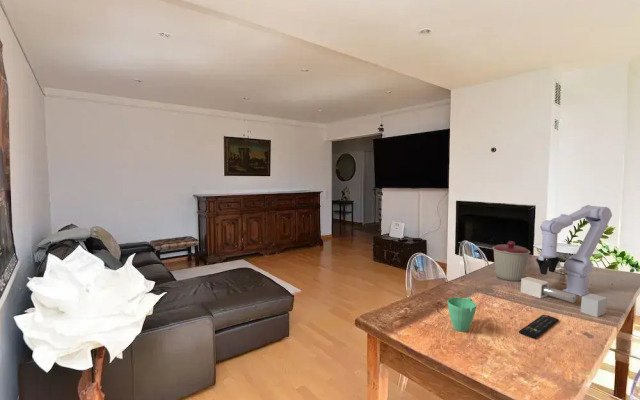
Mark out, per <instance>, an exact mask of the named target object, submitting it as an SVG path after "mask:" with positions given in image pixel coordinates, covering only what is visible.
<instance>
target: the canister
mask: <svg viewBox="0 0 640 400" xmlns="http://www.w3.org/2000/svg"><path fill="white" fill-rule="evenodd" d="M492 250H493V259H494V261H493V262H494V263H493V264H494V271H495V275H496V276H497V277H498V278H500V279H502V280H505V281H510V282H519V281H520V282H521V279H522V278H525V273H526V269H527V265H528V259H529V254H531V251H530V250H529V249H527V248H526V247H525V246H524V247H523V246H520V245H516V243H515V241H512V240H508V242H507V244H496V245H493V246H492Z"/></svg>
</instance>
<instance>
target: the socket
mask: <svg viewBox="0 0 640 400" xmlns="http://www.w3.org/2000/svg"><path fill="white" fill-rule="evenodd" d="M607 299H608V298H607V297H606V296H601V295H599V294H594V293H591V292H590V293H588V294H586V295H583V296H581V301H580V302H581V303H580V312H581V313H583V314H586V315H589V316H592V317H595V318H598V317H601V316H602V315H605V314H606V311H607V310H606V309H607Z"/></svg>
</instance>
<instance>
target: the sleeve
mask: <svg viewBox="0 0 640 400" xmlns="http://www.w3.org/2000/svg"><path fill="white" fill-rule="evenodd" d="M520 283H521V285H520V293H522V294H525V295H529V296H533V297H535V298H537V299H538V298H539V299H542V298H546V297H548V295H546V294H543V293H542V286H546V287H549V281H546V280H543V279H539V278H534V277H531V276H527V277H525V276H524V277H523V278H522V279H521V280H520Z"/></svg>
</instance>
